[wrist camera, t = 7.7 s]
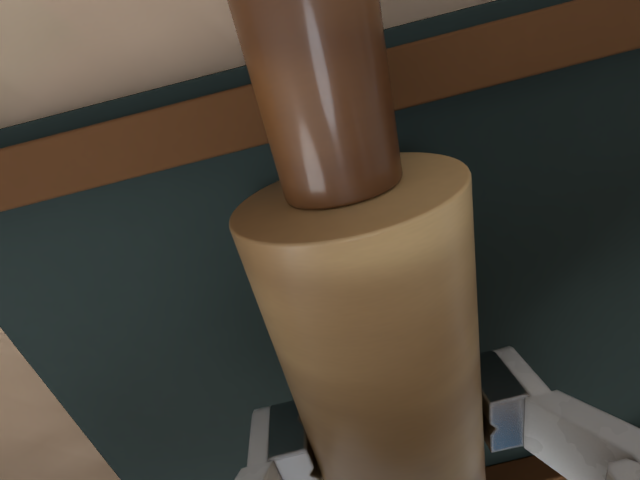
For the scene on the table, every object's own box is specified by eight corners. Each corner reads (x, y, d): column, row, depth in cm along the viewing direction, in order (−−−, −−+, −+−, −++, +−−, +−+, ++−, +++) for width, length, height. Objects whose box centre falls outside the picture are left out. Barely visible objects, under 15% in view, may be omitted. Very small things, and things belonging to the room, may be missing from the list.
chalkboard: (899, -103, 8) (1028, -142, 7) (709, 421, 15) (750, 454, 14) (-109, 158, 8) (-186, 173, 7) (187, 547, 16) (177, 591, 14)
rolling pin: (387, -132, 6) (557, -497, 2) (460, 531, 16) (518, 681, 12) (156, -71, 6) (-58, -324, 2) (367, 554, 16) (394, 709, 12)
